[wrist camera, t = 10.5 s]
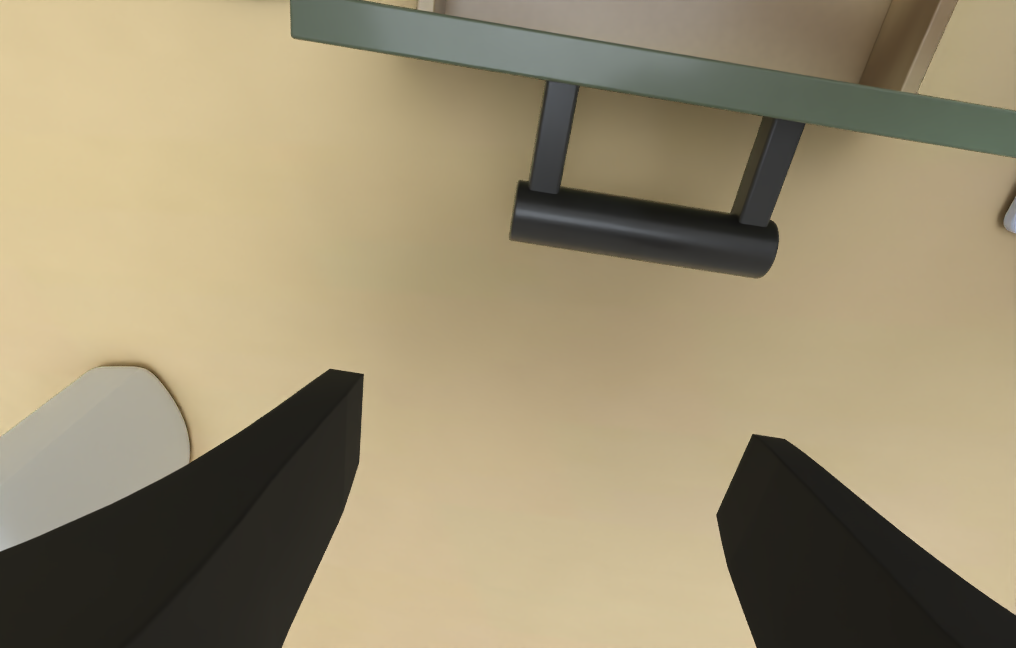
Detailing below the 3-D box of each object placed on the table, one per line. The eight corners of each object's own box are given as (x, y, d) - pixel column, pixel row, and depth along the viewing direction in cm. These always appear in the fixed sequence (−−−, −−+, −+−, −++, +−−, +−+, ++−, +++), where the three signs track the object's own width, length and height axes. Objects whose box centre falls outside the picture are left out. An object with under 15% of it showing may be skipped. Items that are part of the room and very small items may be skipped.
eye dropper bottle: (78, 449, 23) (-313, 804, 12) (100, 343, 21) (-357, 669, 10) (184, 489, 24) (-97, 855, 13) (217, 391, 22) (-92, 740, 11)
